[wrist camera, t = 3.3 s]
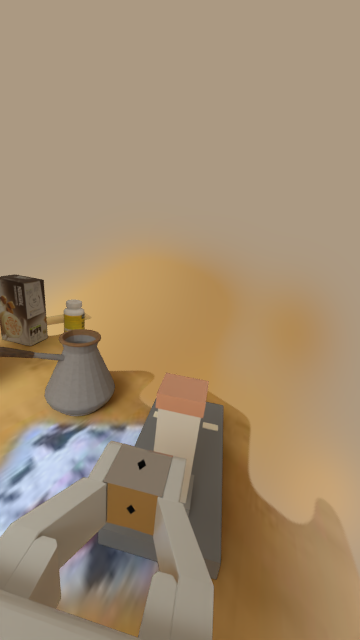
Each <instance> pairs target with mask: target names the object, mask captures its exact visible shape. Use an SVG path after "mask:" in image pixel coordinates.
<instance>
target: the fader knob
mask: <svg viewBox="0 0 360 640" xmlns="http://www.w3.org/2000/svg"><path fill="white" fill-rule="evenodd" d="M207 390H208V381H204V380H200V379H194V378H189V377H184V376H180V375H175V374H170V373H166V374H165V377H164V379H163V381H162V383H161V385H160V388H159V390H158V392H157V398H156V408H158V415H157V425H156V434H155V444H154V451H155V452H159V453H164V454H168V455H173V456H176V457H181V458H185V459H187V460H186V467H185V473H184V480H183V486H182V492H181V499H180V503H182V504H183V505H184V508H185V510H186V513H187V516H189V511H190V503H191V496H192V489H193V481H194V475H192V474H191V471H192V465H193V459H194V454H195V448H196V442H197V437H198V431H199V425H200V420H201V418H203V416H204V411H205V405H206V398H207Z"/></svg>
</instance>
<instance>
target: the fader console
mask: <svg viewBox="0 0 360 640" xmlns="http://www.w3.org/2000/svg"><path fill="white" fill-rule="evenodd" d="M156 398H157V397H156ZM157 415H158V408H156V399H155V402H154V404H153V406H152V408H151V411H150V413H149V415H148V417H147V420H146V422H145V424H144V426H143V428H142V431H141V433H140V435H139V437H138V440H137V442H136V444H135V446H134V447H138V448H141V449H145V450H151V451H154V444H155V434H156V425H157ZM222 459H223V405H218V404H214V403H209V402H206V405H205V411H204V416H203V418H201V420H200V425H199V431H198V437H197V442H196V448H195V454H194V459H193V465H192V471H191V474H192V475H194V481H193V489H192V496H191V503H190V511H189V516H188V518H189V521H190V524H191V526H192V529H193V532H194V535H195V537H196V540H197V543H198V545H199V548H200V551H201V553H202V556H203V559H204V561H205V564H206V567H207V569H208V572H209V575H210V578H213V579H217V575H218V572H219V568H220V564H221V521H222ZM98 544H101V545H105V546H108V547H111V548H114V549H118V550H121V551H124V552H128V553H131V554H134V555H137V556H141V557H144V558H147V559H150V560H154V561H157V562H158V560H157V555H156V550H155V545H154V539H153V536H152V535H149V534H146V533H143V532H140V531H137V530H134V529H131V528H127V527H123V526H119V525H115V524H111V523H107V522H106V524H105V525H104V526H103V527H102V528H101V529H100V530H99V531H98Z"/></svg>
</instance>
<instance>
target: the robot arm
mask: <svg viewBox="0 0 360 640" xmlns="http://www.w3.org/2000/svg"><path fill="white" fill-rule="evenodd" d="M186 460H187V459H185V458H181V457H176V456H173V455H168V454H164V453H159V452H155V451H151V450H145V449H141V448H138V447H134V446H130V445H127V444H122V443H118V442H115V441H110V442H109V443H108V445H107V446H106V448H105V450H104V451H103V453H102V455H101V456H100V458H99V460H98V461H97V463H96V465H95V466H94V468H93V470H92V472H91V473H90V475H89V477H88V478H85V477H83V478H82V479H80V480H79V481H77V482H76V483H74V484H72V485H71V486H69V487H68V488H66V489H65V490H63V491H61V492H60V493H58V494H57V495H55V496H54V497H52V498H50V499H49V500H47V501H46V502H44V503H43V504H41V505H40V506H38V507H36V508H35V509H33V510H32V511H30V512H29V513H27V514H25V515H24V516H22V517H21V518H19V519H18V520H16V521H14V522H13V523H11V524H10V526H9V527H8V528H7V530H6V531H5V532H4V533H3V535H2V536H1V537H0V640H212V628H213V600H214V586H213V583H212V580H211V578H210V575H209V572H208V569H207V567H206V564H205V561H204V559H203V556H202V553H201V551H200V548H199V545H198V543H197V540H196V537H195V535H194V532H193V529H192V526H191V524H190V521H189V518H188V516H187V513H186V510H185V508H184V505H183V504H182V503H180V499H181V492H182V486H183V480H184V473H185V467H186ZM106 522H107V523H111V524H115V525H119V526H123V527H127V528H131V529H134V530H137V531H140V532H143V533H146V534H149V535H152V536H153V539H154V545H155V550H156V555H157V560H158V565H159V570H160V572H159V571H158V572H156V573H155V574H154V575H153V576H152V580H151V584H150V588H149V593H148V597H147V601H146V606H145V610H144V614H143V618H142V623H141V627H140V631H139V635H138V638H137V637H135V636H132V635H129V634H126V633H123V632H120V631H117V630H115V629H112V628H109V627H106V626H103V625H100V624H97V623H95V622H92V621H89V620H86V619H83V618H80V617H78V616H75V615H72V614H69V613H66V612H63V611H60V610H58V609H56V608H57V606H58V603H59V601H60V599H61V590H60V576H59V569H60V568H61V567H62V566H63V565H64V564H65V563H66V562H67V561H68V560H69V559H70V558H71V557H72V556H73V555H74V554H75V553H76V552H77V551H78V550H79V549H80V548H82V547H83V546H84V545H85V544H86V543H87V542H88V541H89V540H90V539H91V538H92V537H93V536H94V535H95V534H96V533H97V532H98V531H99V530H100V529H101V528H102V527H103V526H104V525H105V524H106Z"/></svg>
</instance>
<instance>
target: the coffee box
mask: <svg viewBox="0 0 360 640" xmlns="http://www.w3.org/2000/svg"><path fill="white" fill-rule="evenodd" d="M0 327H1V334H2V339H3V340H7V341H11V342H15V343H20V344H24V345H28V346H32V345H34V344H36V343H38V342H40V341H42V340H45V339H47V338H48V335H47V321H46V308H45V295H44V280H42V279H36V278H30V277H26V276H19V275H8V276H1V277H0Z"/></svg>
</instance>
